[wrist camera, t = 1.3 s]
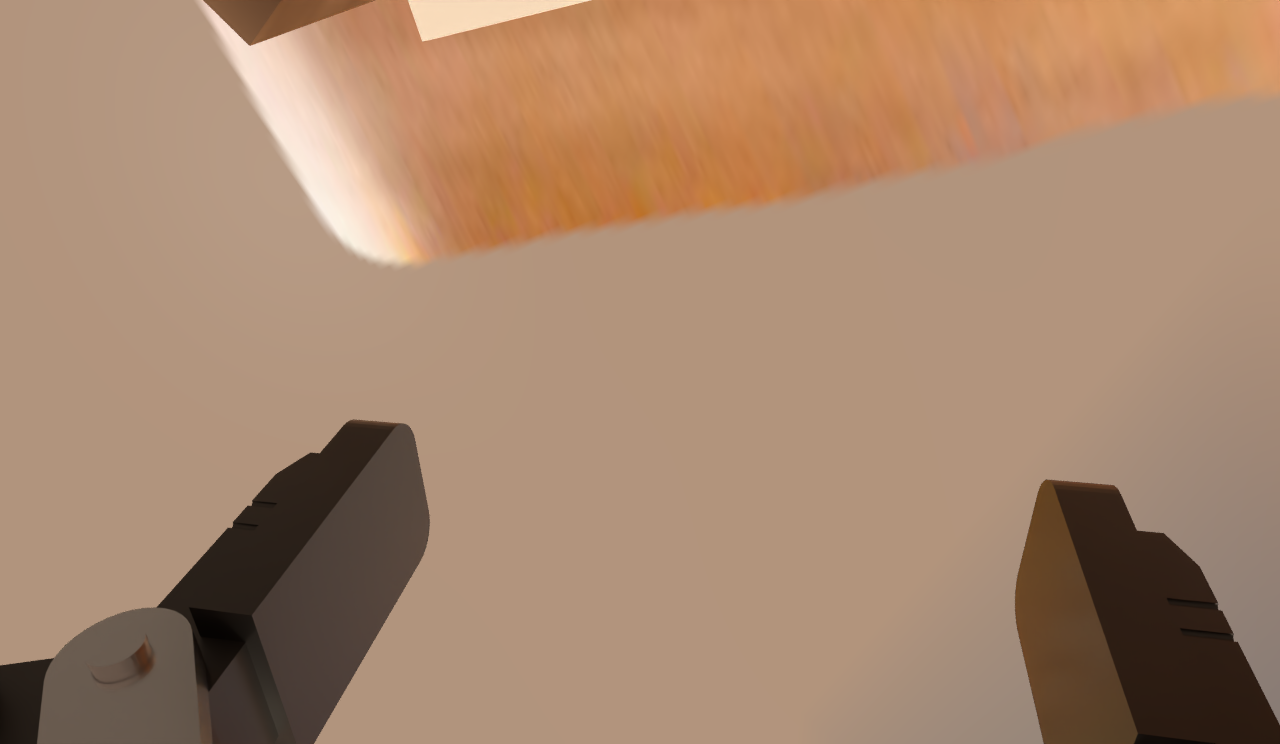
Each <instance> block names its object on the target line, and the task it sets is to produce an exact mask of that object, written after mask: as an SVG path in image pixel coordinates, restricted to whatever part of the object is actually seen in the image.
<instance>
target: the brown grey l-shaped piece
mask: <svg viewBox="0 0 1280 744" xmlns="http://www.w3.org/2000/svg"><path fill="white" fill-rule="evenodd" d="M203 1H204V2H205V3H206V4H208V5H209V6H210V7H211V8H212V9H213V10H214V11H215V12H216V13H217V14H218V15H219V16H220V17H221V18H222V19H223V20H224V21H225V22H226V23H227V24H228V25H229V26H230V27H231V28H232V29H233V30H234V31H235V32H236V33H237V34H238V35H239V36H240V37H241V38H242V39H243V40H244V41H245V42H246V43H247V44H248V45H249V46H251V45H253V44H256V43H259V42H262V41H264V40H267V39H270V38H273V37H275V36H278V35H281V34H284V33H286V32H289V31H292V30H295V29H297V28H300V27H303V26H306V25H308V24H311V23H314V22H317V21H320V20H322V19H325V18H328V17H331V16H333V15H336V14H339V13H342V12H344V11H347V10H350V9H353V8H355V7H358V6H361V5H364V4H366V3H369V2H372V1H375V0H203Z"/></svg>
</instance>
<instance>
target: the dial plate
mask: <svg viewBox="0 0 1280 744" xmlns="http://www.w3.org/2000/svg"><path fill="white" fill-rule="evenodd" d="M586 1H590V0H408V2H409V4H410V7H411V10H412V13H413V16H414V19H415V22H416V25H417V27H418V30H419V33H420V36H421V39H422V42H423V41H427V40H431V39H436V38H440V37H444V36H448V35H452V34H456V33H460V32H464V31H468V30H472V29H476V28H480V27H484V26H488V25H492V24H496V23H501V22H505V21H509V20H513V19H517V18H521V17H525V16H529V15H533V14H537V13H541V12H545V11H549V10H553V9H557V8H561V7H565V6H570V5H574V4H578V3H582V2H586Z"/></svg>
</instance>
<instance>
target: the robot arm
mask: <svg viewBox="0 0 1280 744" xmlns="http://www.w3.org/2000/svg"><path fill="white" fill-rule="evenodd" d="M252 502H253V503H252V506H247V507H246V508H245V509H244V510H243V512H242V513H241V514H240V515H239V516H238V517H237V518H236V519H235V520H234V522H233V527H232V528H227V529H226V531H225V532H224V533H223V534H222V535H221V536H220V537H219V538H218V540H217V541H216V542H215V543H214V544H213V545H212V546H211V547H210V549H209V550H208V551H207V552H206V553H205V554H204V555H203V556H202V557H201V559H200V560H199V561H198V562H197V563H196V564H195V565H194V566H193V568H192V569H191V570H190V571H189V572H188V573H187V574H186V575H185V576H184V577H183V579H182V580H181V581H180V582H179V583H178V584H177V585H176V586H175V587H174V589H173V590H172V591H171V592H170V593H169V594H168V595H167V596H166V598H165V599H164V600H163V601H162V602H161V603H160V604H159V605H158V606H157V608H141V609H135V610H130V611H126V612H123V613H120V614H117V615H114V616H112V617H109V618H106V619H104V620H103V621H100V622H98V623H96V624H94V625H93V626H91V627H89V628H87V629H86V630H84V631H83V632H81V633H80V634H78V635H77V636H76V637H74V638H73V639H72V640H71V641H70V642H69V643H67V644H66V645H65V646H64V647H63V648H62V650H60V652H59V653H58V654H57V655H56V657H55V658H53V659H45V660H38V661H31V662H23V663H16V664H9V665H1V666H0V744H314V743H315V741H316V739H317V737H318V736H319V734H320V732H321V730H322V729H323V727H324V725H325V724H326V722H327V720H328V718H329V717H330V715H331V713H332V712H333V710H334V708H335V706H336V705H337V703H338V701H339V700H340V698H341V696H342V695H343V693H344V691H345V689H346V688H347V686H348V684H349V683H350V681H351V679H352V677H353V676H354V674H355V672H356V671H357V669H358V667H359V665H360V664H361V662H362V660H363V659H364V657H365V655H366V653H367V652H368V650H369V648H370V646H371V645H372V643H373V641H374V640H375V638H376V636H377V634H378V633H379V631H380V629H381V628H382V626H383V624H384V623H385V621H386V619H387V617H388V616H389V614H390V612H391V611H392V609H393V607H394V605H395V604H396V602H397V600H398V598H399V597H400V595H401V593H402V592H403V590H404V588H405V587H406V585H407V583H408V581H409V579H410V578H411V576H412V574H413V573H414V571H415V569H416V568H417V566H418V564H419V562H420V561H421V558H422V557H423V554H424V552H425V549H426V545H427V541H428V536H429V526H430V525H429V524H430V519H429V510H428V505H427V500H426V495H425V489H424V485H423V479H422V474H421V469H420V463H419V458H418V453H417V447H416V442H415V438H414V434H413V432H412V430H411V428H410V427H409V426H408V425H406V424H401V423H388V422H377V421H365V420H350V421H348V422H347V423H346V424H345V425H344V426H343V427H342V428H341V429H340V430H339V432H338V433H337V434H336V435H335V436H334V437H333V439H332V440H331V441H330V442H329V443H328V445H327V446H326V447H325V448H324V449H323V450H322V451H321V453H309V454H308V455H306V456H304V457H303V458H301V459H299V460H298V461H296V462H295V463H293V464H291V465H290V466H288V467H287V468H285V469H283V470H282V471H280V472H279V473H277V474H276V475H275V476H274V477H273V478H272V479H271V480H270V481H269V483H268V484H267V485H266V486H265V487H264V488H263V489H262V490H261V491H260V493H259V494H258V495H257V496H256V497H255V498H254V499H253V500H252ZM1015 614H1016V624H1017V630H1018V634H1019V639H1020V643H1021V647H1022V652H1023V656H1024V660H1025V664H1026V669H1027V673H1028V677H1029V682H1030V686H1031V690H1032V694H1033V699H1034V703H1035V707H1036V711H1037V716H1038V720H1039V725H1040V729H1041V733H1042V738H1043V742H1044V744H1280V725H1279V723H1278V721H1277V719H1276V717H1275V715H1274V713H1273V711H1272V709H1271V707H1270V705H1269V703H1268V701H1267V699H1266V697H1265V695H1264V693H1263V691H1262V689H1261V687H1260V685H1259V683H1258V681H1257V679H1256V677H1255V675H1254V673H1253V671H1252V669H1251V667H1250V665H1249V663H1248V661H1247V659H1246V657H1245V656H1244V653H1243V651H1242V650H1241V648H1240V646H1239V644H1238V642H1234V640H1233V635H1234V634H1233V632H1232V630H1231V628H1230V626H1229V624H1228V622H1227V620H1226V618H1225V616H1224V614H1223V612H1222V611H1220V610H1218V602H1217V600H1216V598H1215V596H1214V594H1213V592H1212V590H1211V588H1210V587H1209V584H1208V582H1207V581H1206V579H1205V576H1204V574H1203V572H1202V570H1201V569H1200V567H1199V566H1198V565H1197V564H1196V563H1195V562H1194V561H1193V560H1192V559H1191V558H1190V557H1189V556H1187V554H1186V553H1184V552H1183V551H1182V550H1181V549H1180V548H1179V547H1178V546H1177V545H1176V544H1175V543H1174V542H1173V541H1171V540H1170V539H1169V538H1168V537H1167V536H1166V535H1165V534H1164V533H1155V532H1145V531H1137V530H1136V528H1135V525H1134V523H1133V521H1132V519H1131V516H1130V514H1129V512H1128V510H1127V507H1126V505H1125V503H1124V500H1123V498H1122V496H1121V494H1120V492H1119V490H1118V489H1117V488H1116V487H1115V486H1114V485H1103V484H1093V483H1080V482H1069V481H1056V480H1045V481H1044V482H1043V483H1042V484H1041V486H1040V489H1039V491H1038V495H1037V498H1036V502H1035V507H1034V511H1033V515H1032V519H1031V523H1030V527H1029V531H1028V535H1027V539H1026V543H1025V547H1024V551H1023V556H1022V559H1021V564H1020V568H1019V572H1018V577H1017V582H1016V591H1015Z"/></svg>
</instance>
